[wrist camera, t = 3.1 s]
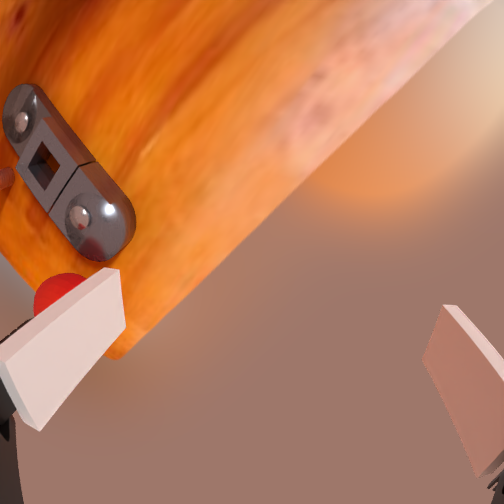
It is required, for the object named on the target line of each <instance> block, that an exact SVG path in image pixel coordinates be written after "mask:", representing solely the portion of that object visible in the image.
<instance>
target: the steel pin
mask: <svg viewBox="0 0 504 504" xmlns="http://www.w3.org/2000/svg"><path fill="white" fill-rule="evenodd" d="M14 179H15V176H14V172H13V170H12V168H10V167H7V168H4V169H1V170H0V190H1V189H4V188H6V187H9V186H11V185H13V183H14Z"/></svg>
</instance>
